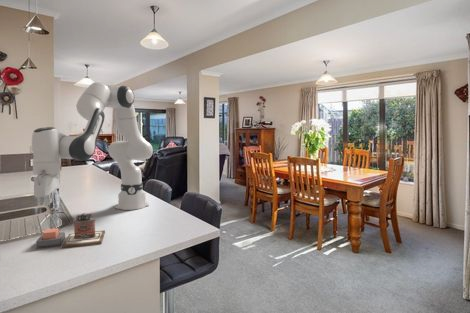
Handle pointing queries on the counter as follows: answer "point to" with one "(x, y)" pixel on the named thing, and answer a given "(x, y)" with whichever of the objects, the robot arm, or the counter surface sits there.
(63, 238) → the button housing
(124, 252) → the counter surface
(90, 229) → the lighter
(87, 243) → the board
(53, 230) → the button
